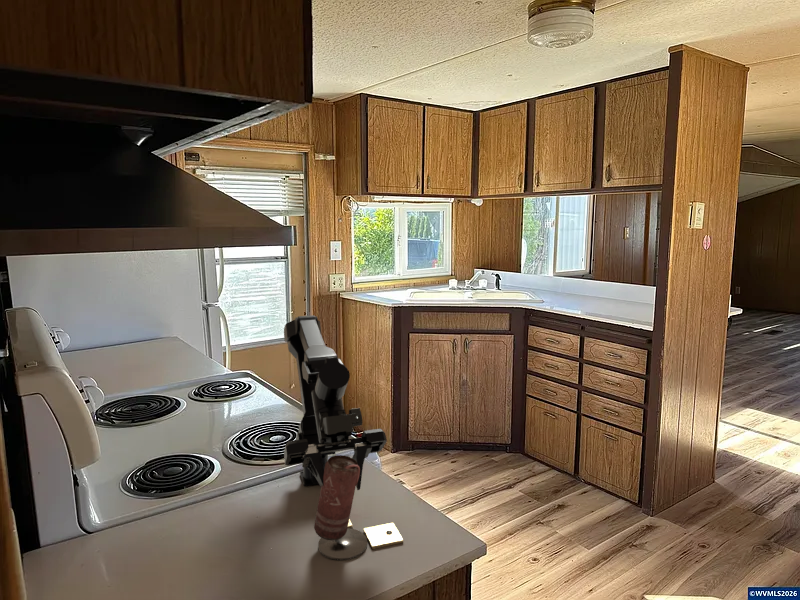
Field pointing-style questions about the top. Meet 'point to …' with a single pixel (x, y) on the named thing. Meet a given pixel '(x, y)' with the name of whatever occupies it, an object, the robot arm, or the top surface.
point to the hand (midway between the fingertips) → (343, 492)
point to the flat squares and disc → (359, 541)
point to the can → (336, 497)
